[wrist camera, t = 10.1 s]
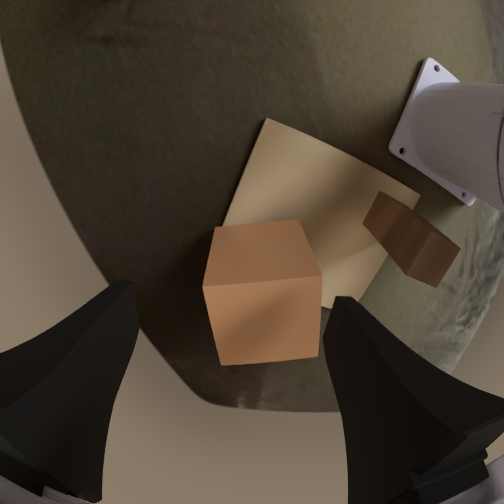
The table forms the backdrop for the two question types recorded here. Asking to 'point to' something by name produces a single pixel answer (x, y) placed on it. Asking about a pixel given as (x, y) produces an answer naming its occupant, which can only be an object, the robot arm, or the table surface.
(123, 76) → the table surface
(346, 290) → the board
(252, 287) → the tan rectangular block
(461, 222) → the table surface
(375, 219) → the post
